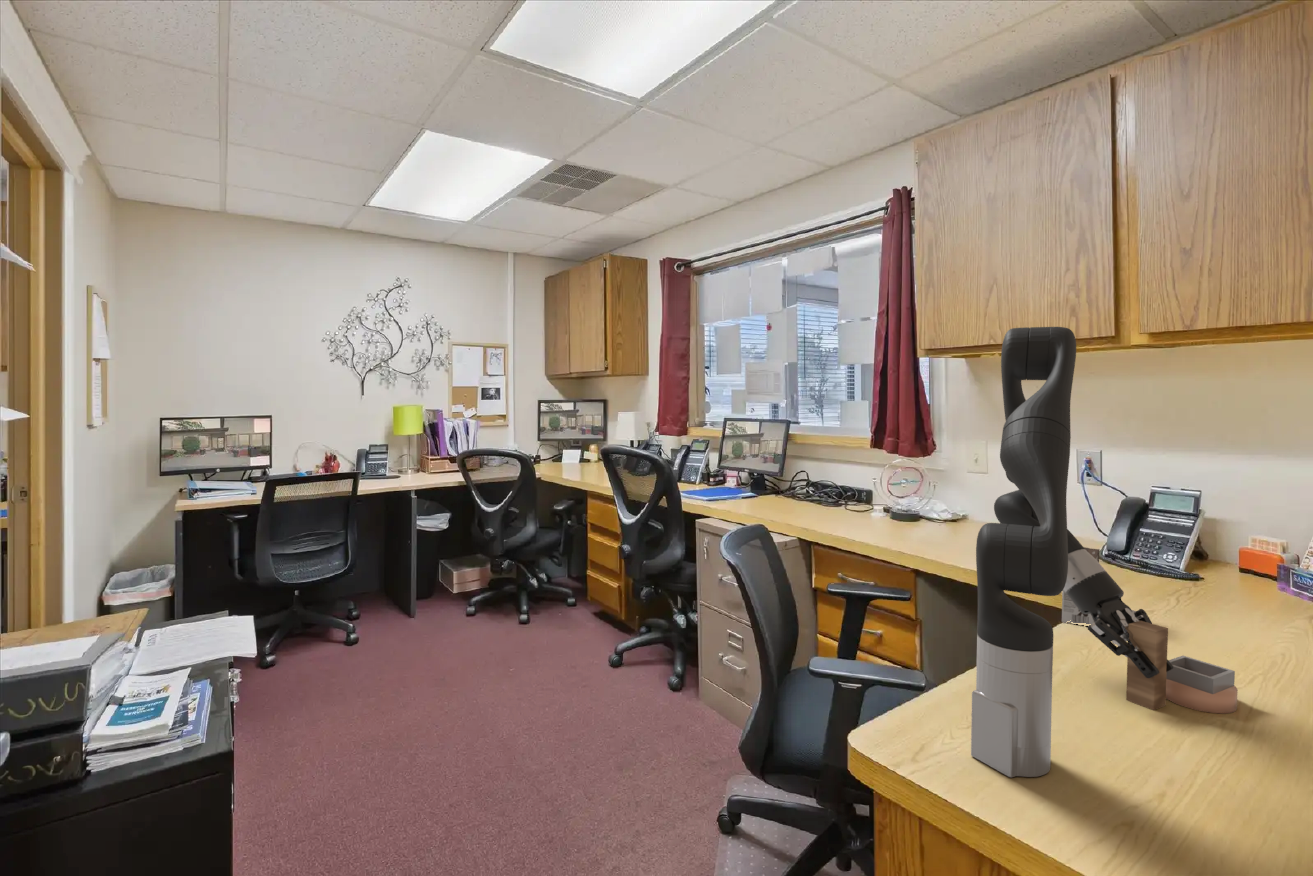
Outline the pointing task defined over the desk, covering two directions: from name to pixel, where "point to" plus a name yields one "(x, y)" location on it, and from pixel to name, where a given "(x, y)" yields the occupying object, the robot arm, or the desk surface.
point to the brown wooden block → (1155, 649)
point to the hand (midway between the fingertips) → (1160, 673)
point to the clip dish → (1201, 686)
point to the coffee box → (1070, 608)
